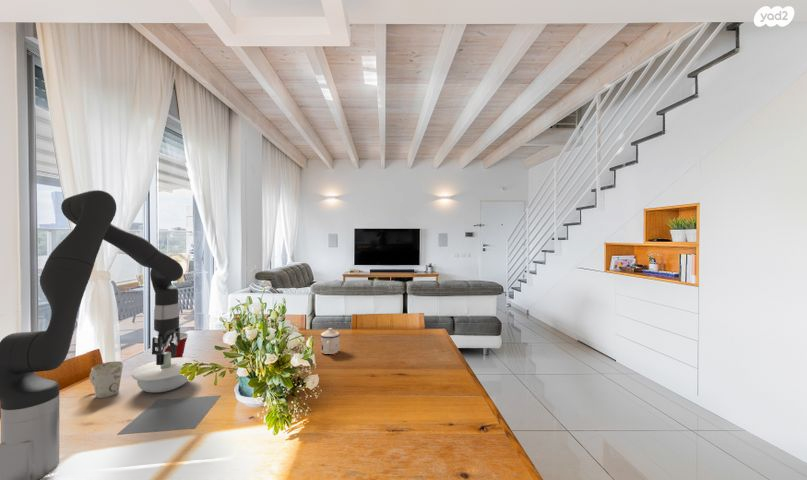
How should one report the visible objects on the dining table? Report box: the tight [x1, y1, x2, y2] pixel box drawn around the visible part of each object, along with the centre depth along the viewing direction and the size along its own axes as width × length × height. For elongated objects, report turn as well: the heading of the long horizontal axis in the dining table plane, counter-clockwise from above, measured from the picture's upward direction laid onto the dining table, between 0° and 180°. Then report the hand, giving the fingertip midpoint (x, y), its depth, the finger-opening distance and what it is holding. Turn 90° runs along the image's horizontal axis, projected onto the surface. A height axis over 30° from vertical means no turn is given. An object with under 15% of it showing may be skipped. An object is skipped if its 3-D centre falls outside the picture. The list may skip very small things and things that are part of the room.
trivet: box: [116, 395, 221, 435], centre depth 105 cm, size 20×20×1 cm
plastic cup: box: [165, 331, 190, 358], centre depth 147 cm, size 11×11×12 cm
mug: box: [88, 360, 124, 399], centre depth 118 cm, size 8×13×10 cm, turn 79°
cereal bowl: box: [136, 375, 189, 393], centre depth 122 cm, size 17×17×7 cm
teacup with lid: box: [320, 327, 341, 354], centre depth 160 cm, size 12×9×12 cm
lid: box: [131, 352, 197, 381], centre depth 122 cm, size 19×19×6 cm
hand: (166, 360), depth 122 cm, fingers open, 8 cm apart
